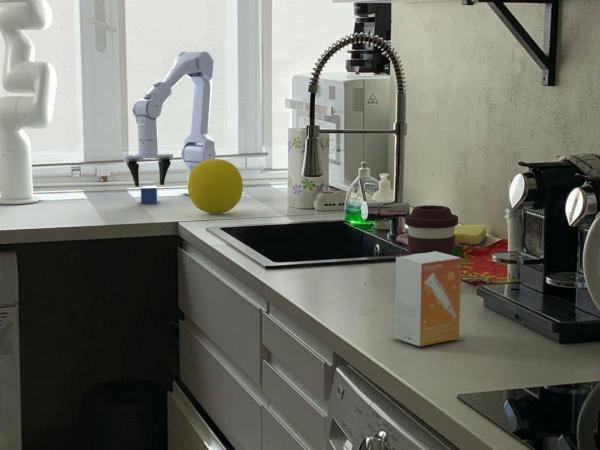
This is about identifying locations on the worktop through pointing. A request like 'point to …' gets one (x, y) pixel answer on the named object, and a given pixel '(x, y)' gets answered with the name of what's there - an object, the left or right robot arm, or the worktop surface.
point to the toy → (215, 186)
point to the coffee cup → (431, 230)
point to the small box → (427, 298)
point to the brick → (148, 194)
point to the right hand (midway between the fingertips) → (149, 185)
